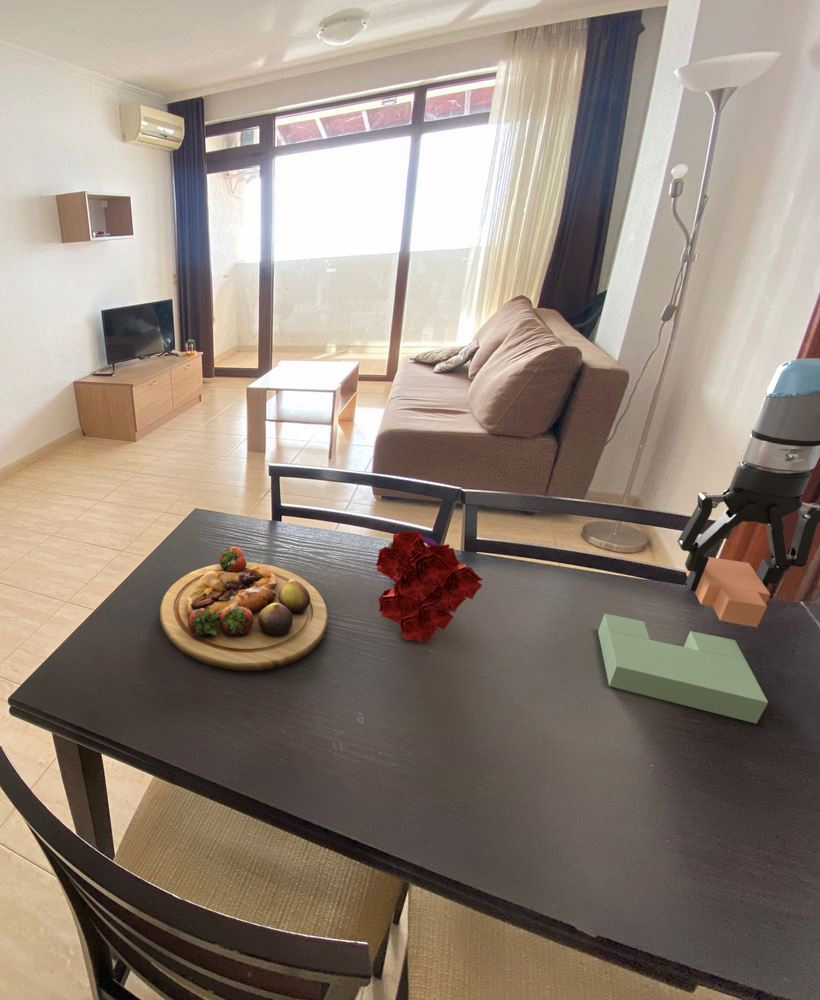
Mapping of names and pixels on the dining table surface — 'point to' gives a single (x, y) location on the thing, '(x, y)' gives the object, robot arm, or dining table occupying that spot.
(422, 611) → the bouquet
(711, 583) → the peach pad
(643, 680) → the green pad
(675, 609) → the dining table surface
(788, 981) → the dining table surface
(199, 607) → the wooden plate
